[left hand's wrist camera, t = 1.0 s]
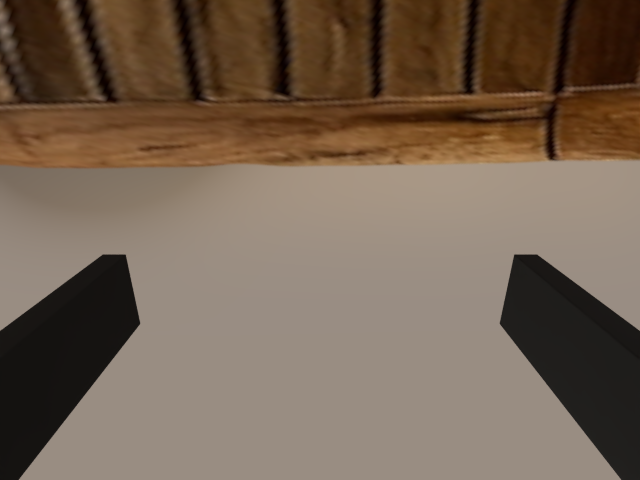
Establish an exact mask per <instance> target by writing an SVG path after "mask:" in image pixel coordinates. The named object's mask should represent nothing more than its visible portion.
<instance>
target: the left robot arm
mask: <svg viewBox="0 0 640 480" xmlns="http://www.w3.org/2000/svg"><path fill="white" fill-rule="evenodd" d="M139 325H140V320H139V315H138V311H137V306H136V301H135V297H134V292H133V287H132V282H131V278H130V273H129V268H128V263H127V259H126V255H102V256H100V257H99V258H98V259H96V260H95V261H94V262H92V263H91V264H90V265H88V266H87V267H86V268H84V269H83V270H82V271H80V272H79V273H78V274H76V275H75V276H74V277H72V278H71V279H69V280H68V281H67V282H65V283H64V284H63V285H61V286H60V287H59V288H57V289H56V290H55V291H53V292H52V293H51V294H49V295H48V296H47V297H45V298H44V299H43V300H41V301H40V302H39V303H37V304H36V305H34V306H33V307H32V308H30V309H29V310H28V311H26V312H25V313H24V314H22V315H21V316H20V317H18V318H17V319H16V320H14V321H13V322H12V323H10V324H9V325H8V326H6V327H5V328H4V329H2V330H1V331H0V480H19V479H20V477H21V476H22V475H23V473H24V472H25V471H26V470H27V468H28V467H29V466H30V464H31V463H32V462H33V461H34V459H35V458H36V457H37V455H38V454H39V453H40V452H41V450H42V449H43V448H44V446H45V445H46V444H47V443H48V441H49V440H50V439H51V437H52V436H53V435H54V434H55V432H56V431H57V430H58V428H59V427H60V426H61V425H62V423H63V422H64V421H65V420H66V418H67V417H68V416H69V414H70V413H71V412H72V411H73V409H74V408H75V407H76V405H77V404H78V403H79V402H80V400H81V399H82V398H83V396H84V395H85V394H86V393H87V391H88V390H89V389H90V387H91V386H92V385H93V384H94V382H95V381H96V380H97V378H98V377H99V376H100V375H101V373H102V372H103V371H104V369H105V368H106V367H107V366H108V364H109V363H110V362H111V361H112V359H113V358H114V357H115V355H116V354H117V353H118V352H119V350H120V349H121V348H122V346H123V345H124V344H125V343H126V341H127V340H128V339H129V337H130V336H131V335H132V334H133V332H134V331H135V330H136V329H137V327H138V326H139ZM500 325H501V326H502V327H503V329H504V330H505V331H506V332H507V334H508V335H509V336H510V337H511V339H512V340H513V341H514V343H515V344H516V345H517V346H518V348H519V349H520V350H521V352H522V353H523V354H524V355H525V357H526V358H527V359H528V361H529V362H530V363H531V364H532V366H533V367H534V368H535V370H536V371H537V372H538V373H539V375H540V376H541V377H542V378H543V380H544V381H545V382H546V384H547V385H548V386H549V387H550V389H551V390H552V391H553V393H554V394H555V395H556V396H557V398H558V399H559V400H560V402H561V403H562V404H563V405H564V407H565V408H566V409H567V411H568V412H569V413H570V414H571V416H572V417H573V418H574V420H575V421H576V422H577V423H578V425H579V426H580V427H581V429H582V430H583V431H584V432H585V434H586V435H587V436H588V437H589V439H590V440H591V441H592V443H593V444H594V445H595V446H596V448H597V449H598V450H599V452H600V453H601V454H602V455H603V457H604V458H605V459H606V461H607V462H608V463H609V464H610V466H611V467H612V468H613V470H614V471H615V472H616V473H617V475H618V476H619V477H620V478H621V480H640V331H639V330H638V329H636V328H635V327H634V326H632V325H631V324H630V323H628V322H627V321H626V320H624V319H623V318H622V317H620V316H619V315H618V314H616V313H615V312H614V311H612V310H611V309H610V308H608V307H607V306H605V305H604V304H603V303H601V302H600V301H599V300H597V299H596V298H595V297H593V296H592V295H591V294H589V293H588V292H587V291H585V290H584V289H583V288H581V287H580V286H579V285H577V284H576V283H575V282H573V281H572V280H571V279H569V278H568V277H566V276H565V275H564V274H562V273H561V272H560V271H558V270H557V269H556V268H554V267H553V266H552V265H550V264H549V263H548V262H546V261H545V260H544V259H542V258H541V257H540V256H538V255H514V259H513V263H512V268H511V273H510V278H509V282H508V287H507V292H506V297H505V301H504V306H503V311H502V315H501V320H500Z"/></svg>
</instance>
